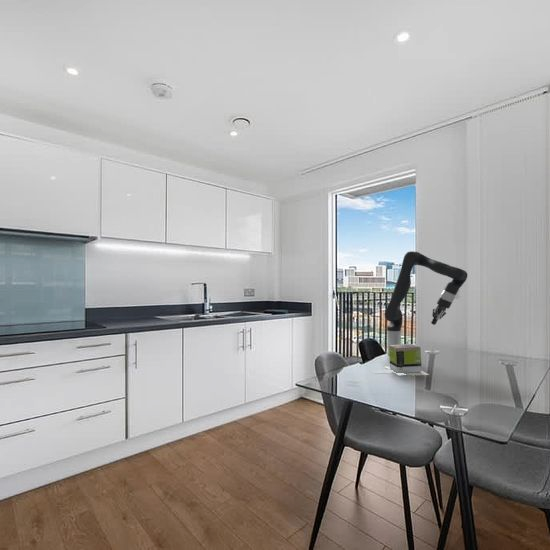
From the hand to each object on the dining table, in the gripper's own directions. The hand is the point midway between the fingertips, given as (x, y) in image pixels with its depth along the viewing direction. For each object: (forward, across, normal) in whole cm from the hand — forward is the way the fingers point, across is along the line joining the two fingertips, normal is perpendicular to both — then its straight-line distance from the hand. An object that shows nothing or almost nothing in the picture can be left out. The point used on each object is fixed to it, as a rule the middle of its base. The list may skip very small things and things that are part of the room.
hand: (433, 324), depth 205 cm
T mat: (+32, +23, +5) cm, 39 cm away
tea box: (+30, +18, +7) cm, 35 cm away
